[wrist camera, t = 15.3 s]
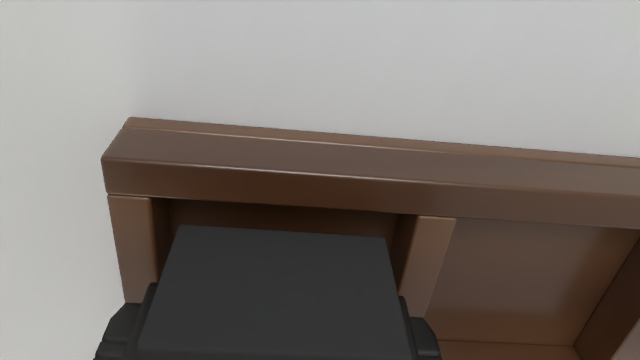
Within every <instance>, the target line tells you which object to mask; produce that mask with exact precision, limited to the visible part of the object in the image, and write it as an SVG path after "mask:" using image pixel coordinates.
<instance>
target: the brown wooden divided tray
mask: <svg viewBox="0 0 640 360" xmlns="http://www.w3.org/2000/svg"><path fill="white" fill-rule="evenodd" d="M101 165H102V170H103V176H104V182H105V188H106V192H107V193H108V196H107V199H108V205H109V211H110V216H111V222H112V228H113V234H114V240H115V245H116V251H117V257H118V263H119V269H120V275H121V280H122V286H123V292H124V298H125V303H142V302H143V299H144V296H145V294H146V291H147V288H148V286H149V284H150V283H151V282H158V283H159V281H160V278H161V275H162V272H163V269H164V266H165V264H166V261H167V258H168V255H169V252H170V249H171V246H172V244H173V241H174V238H175V235H176V232H177V229H178V227H179V226H180V225H199V226H215V227H230V228H246V229H262V230H278V231H294V232H309V233H325V234H341V235H357V236H373V237H383V238H385V240H386V244H387V249H388V253H389V258H390V262H391V267H392V271H393V276H394V280H395V285H396V289H397V294H398V296H404V298H405V300H406V304H407V308H408V312H409V317H423V318H424V319H425V321H426V322H427V323H428V325H429V326H430V328H431V329H432V330H433V332H434V333H435V334H436V338H437V341H438V345H439V348H440V352H441V357H442V359H443V360H640V158H633V157H620V156H608V155H596V154H583V153H571V152H558V151H546V150H534V149H521V148H509V147H496V146H484V145H472V144H459V143H447V142H434V141H422V140H410V139H397V138H385V137H372V136H360V135H348V134H335V133H323V132H310V131H298V130H285V129H273V128H261V127H248V126H236V125H223V124H211V123H199V122H186V121H174V120H161V119H149V118H137V117H130V118H128V119H127V121H126V122H125V124H124V125H123V127H122V129H121V130H120V131H119V133H118V134H117V136H116V137H115V138H114V140H113V141H112V143H111V144H110V145H109V147H108V148H107V150H106V151H105V152H104V154H103V155H102V157H101Z"/></svg>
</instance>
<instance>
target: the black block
mask: <svg viewBox="0 0 640 360" xmlns="http://www.w3.org/2000/svg"><path fill="white" fill-rule="evenodd" d="M136 348H137V354H138V360H412V356H411V352H410V347H409V343H408V338H407V334H406V329H405V325H404V320H403V316H402V312H401V307H400V303H399V298H398V294H397V289H396V285H395V280H394V276H393V271H392V267H391V262H390V258H389V253H388V249H387V244H386V240H385V238H383V237H373V236H357V235H341V234H325V233H309V232H294V231H278V230H262V229H246V228H230V227H215V226H199V225H180V226H179V227H178V229H177V232H176V235H175V238H174V241H173V244H172V246H171V249H170V252H169V255H168V258H167V261H166V264H165V266H164V269H163V272H162V275H161V278H160V281H159V284H158V286H157V289H156V292H155V295H154V298H153V301H152V303H151V306H150V309H149V312H148V315H147V318H146V321H145V323H144V326H143V329H142V332H141V335H140V338H139V340H138V343H137V346H136Z"/></svg>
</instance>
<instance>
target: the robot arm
mask: <svg viewBox="0 0 640 360" xmlns="http://www.w3.org/2000/svg"><path fill="white" fill-rule="evenodd" d="M158 284H159V283H158V282H151V283H150V284H149V286H148V288H147V291H146V294H145V296H144V299H143V302H142V303H125V304H124V305H123V306H122V307H121V308H120V310H119V311H118V312H117V313H116V314H115V315H114V316H113V317H112V318H111V319H110V321H109V323H108V326H107V328H106V330H105V333H104V335H103V337H102V342H100V344H99V347H98V349H97V351H96V354H95V358H93V360H138V354H137V348H136V346H137V343H138V340H139V338H140V335H141V332H142V329H143V326H144V323H145V321H146V318H147V315H148V312H149V309H150V306H151V303H152V301H153V298H154V295H155V292H156V289H157V286H158ZM398 298H399V303H400V307H401V312H402V316H403V320H404V325H405V329H406V334H407V338H408V343H409V347H410V352H411V356H412V360H443V359H442V357H441V352H440V348H439V345H438V341H437V338H436V334H435V333H434V332H433V330H432V329H431V328H430V326H429V325H428V323H427V322H426V321H425V319H424V318H423V317H409V312H408V308H407V304H406V300H405V298H404V296H398Z"/></svg>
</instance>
